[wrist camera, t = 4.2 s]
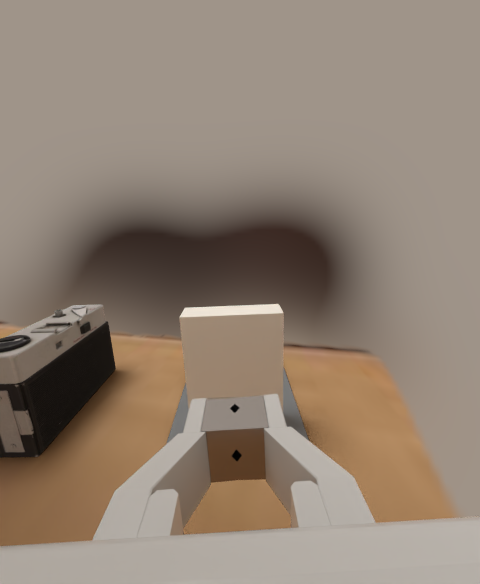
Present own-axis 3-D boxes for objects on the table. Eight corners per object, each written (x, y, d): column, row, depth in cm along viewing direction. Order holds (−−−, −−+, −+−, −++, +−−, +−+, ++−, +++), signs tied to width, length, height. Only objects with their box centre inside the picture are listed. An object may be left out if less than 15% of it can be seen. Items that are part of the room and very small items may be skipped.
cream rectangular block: (191, 436, 23) (179, 317, 20) (195, 415, 25) (185, 307, 22) (282, 432, 23) (283, 313, 20) (278, 412, 25) (278, 303, 22)
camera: (66, 367, 36) (53, 297, 33) (128, 372, 35) (119, 300, 32) (-58, 451, 23) (-95, 346, 20) (36, 465, 21) (8, 355, 19)
